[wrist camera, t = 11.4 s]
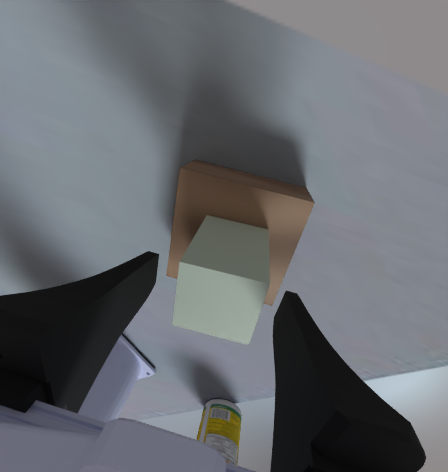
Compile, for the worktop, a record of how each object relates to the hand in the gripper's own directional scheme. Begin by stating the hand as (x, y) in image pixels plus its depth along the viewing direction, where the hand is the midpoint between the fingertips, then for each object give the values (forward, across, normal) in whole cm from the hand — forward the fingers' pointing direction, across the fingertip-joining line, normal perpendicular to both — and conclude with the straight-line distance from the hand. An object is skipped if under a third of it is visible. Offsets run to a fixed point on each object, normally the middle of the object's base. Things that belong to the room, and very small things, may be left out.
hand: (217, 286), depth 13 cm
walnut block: (+9, 0, 0) cm, 9 cm away
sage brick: (+5, 0, 0) cm, 5 cm away
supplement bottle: (+9, -5, +28) cm, 29 cm away
